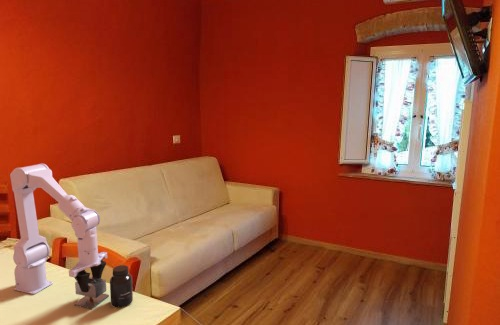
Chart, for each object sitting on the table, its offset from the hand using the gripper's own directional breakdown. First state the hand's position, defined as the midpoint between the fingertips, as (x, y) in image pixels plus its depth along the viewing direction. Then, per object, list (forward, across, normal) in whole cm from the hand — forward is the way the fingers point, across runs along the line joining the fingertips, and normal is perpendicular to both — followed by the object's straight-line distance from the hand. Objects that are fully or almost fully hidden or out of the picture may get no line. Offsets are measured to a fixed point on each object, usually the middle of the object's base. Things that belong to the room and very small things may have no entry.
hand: (90, 287), depth 114 cm
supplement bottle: (+5, +2, -10) cm, 12 cm away
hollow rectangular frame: (+2, 0, 0) cm, 2 cm away
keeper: (+5, 0, 0) cm, 5 cm away
